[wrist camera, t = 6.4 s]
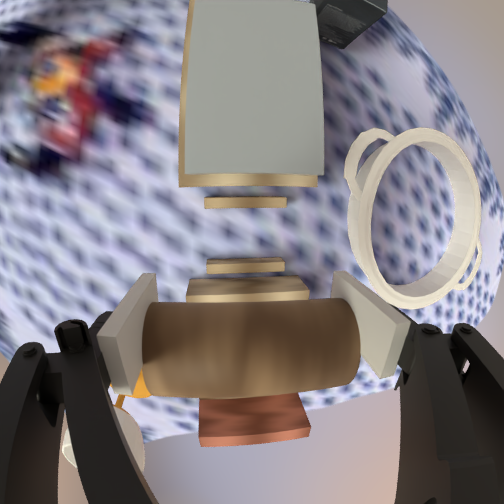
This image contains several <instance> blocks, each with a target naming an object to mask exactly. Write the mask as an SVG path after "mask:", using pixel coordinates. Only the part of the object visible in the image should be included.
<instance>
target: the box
mask: <svg viewBox="0 0 504 504" xmlns="http://www.w3.org/2000/svg"><path fill="white" fill-rule="evenodd" d="M309 3H312V4H315V8H316V16H317V25H318V34H319V40H321V41H323V42H326V43H328V44H331V45H333V46H335V47H338V48H339V49H344V48H345V47H346V46H347V45H348V44H350V43H351V42H352V41H353V40H354V39H355V38H357V37H358V36H359V35H360V34H361V33H363V32H364V31H365V30H366V29H368V28H369V27H370V26H371V25H372V24H374V23H375V22H376V21H377V20H378V19H380V18H381V17H382V16H383V15H385V14H386V13H387V0H310V2H309Z"/></svg>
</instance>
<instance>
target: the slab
mask: <svg viewBox="0 0 504 504" xmlns="http://www.w3.org/2000/svg"><path fill="white" fill-rule="evenodd" d="M185 174H187V175H209V174H277V175H305V176H312V175H324V110H323V87H322V70H321V56H320V45H319V34H318V25H317V16H316V8H315V4H312V3H307V2H301V1H295V0H195V4H194V12H193V20H192V29H191V39H190V49H189V62H188V75H187V93H186V116H185Z"/></svg>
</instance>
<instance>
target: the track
mask: <svg viewBox="0 0 504 504" xmlns="http://www.w3.org/2000/svg"><path fill="white" fill-rule="evenodd" d="M194 4H195V0H190V2H189V9H188V17H187V24H186V33H185V42H184V52H183V64H182V77H181V93H180V114H179V187H203V186H297V187H317V180H318V175H312V176H305V175H277V174H209V175H187V174H185V116H186V93H187V75H188V62H189V49H190V39H191V29H192V20H193V12H194ZM204 205H205V209H210V208H286V205H287V198H286V197H279V196H238V197H205V198H204ZM206 266H207V274H224V273H253V272H278V271H284V269H285V262H284V260H283V259H282V258H281V257H273V258H241V259H208V260H207V264H206ZM309 291H310V290H309V289H308V288H307V286H306V285H305V284H304V283H303V282H302V280H301V279H300V278H299V277H298V276H297V275H294V276H273V277H249V278H221V279H190V281H189V285H188V289H187V293H186V302H262V301H289V300H309ZM310 429H311V425H310V423H309V420H308V418H307V415H306V412H305V410H304V407H303V405H302V402H301V400H300V397H299V394H298V393H289V394H280V395H268V396H254V397H233V398H199V441H200V445H201V447H216V446H238V445H251V444H262V443H270V442H277V441H285V440H292V439H297V438H303V437H308V436H309V433H310Z"/></svg>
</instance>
